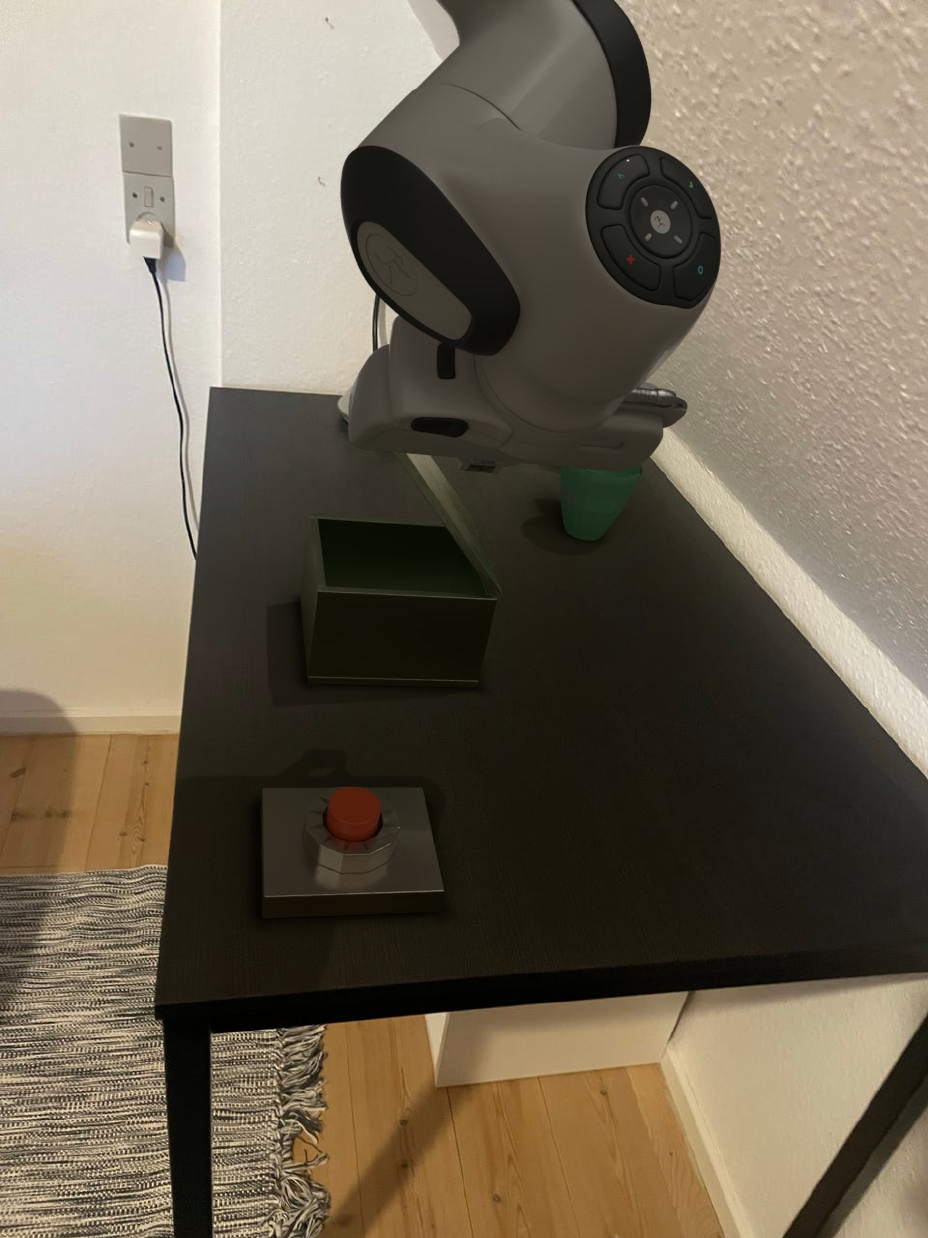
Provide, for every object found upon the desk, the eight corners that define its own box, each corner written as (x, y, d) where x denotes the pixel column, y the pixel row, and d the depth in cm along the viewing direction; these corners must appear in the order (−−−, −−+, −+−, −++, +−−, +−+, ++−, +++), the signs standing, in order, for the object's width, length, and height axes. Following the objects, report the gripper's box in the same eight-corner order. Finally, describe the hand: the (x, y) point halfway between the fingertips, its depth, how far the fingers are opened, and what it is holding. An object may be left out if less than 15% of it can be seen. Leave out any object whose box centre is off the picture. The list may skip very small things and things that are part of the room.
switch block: (262, 919, 62) (265, 878, 60) (260, 809, 70) (263, 769, 68) (439, 912, 65) (449, 873, 63) (418, 807, 73) (426, 769, 71)
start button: (328, 842, 64) (330, 824, 63) (324, 804, 67) (326, 786, 66) (380, 842, 65) (383, 823, 64) (375, 804, 68) (378, 786, 67)
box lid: (393, 453, 73) (444, 421, 72) (374, 388, 84) (418, 360, 83) (494, 597, 82) (540, 570, 81) (465, 522, 93) (505, 497, 92)
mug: (633, 552, 116) (656, 478, 111) (559, 549, 113) (579, 474, 108) (591, 497, 128) (610, 428, 122) (523, 493, 125) (540, 422, 119)
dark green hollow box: (307, 684, 84) (317, 590, 78) (300, 600, 94) (308, 513, 89) (477, 688, 87) (497, 599, 82) (451, 606, 98) (468, 524, 93)
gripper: (697, 349, 58) (609, 433, 71) (368, 309, 53) (338, 407, 66) (703, 446, 57) (612, 513, 70) (367, 414, 52) (336, 493, 65)
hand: (476, 461), depth 68 cm, fingers closed
